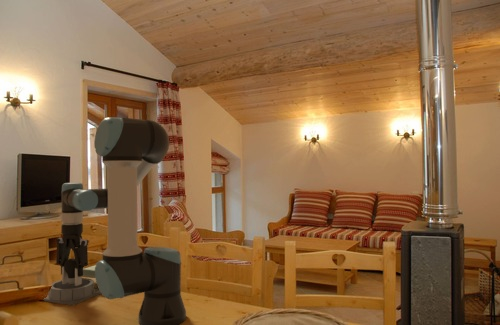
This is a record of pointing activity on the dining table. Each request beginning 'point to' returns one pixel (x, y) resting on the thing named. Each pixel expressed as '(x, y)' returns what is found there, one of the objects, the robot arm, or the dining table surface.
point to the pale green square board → (89, 272)
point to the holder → (71, 292)
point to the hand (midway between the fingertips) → (71, 283)
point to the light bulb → (70, 270)
